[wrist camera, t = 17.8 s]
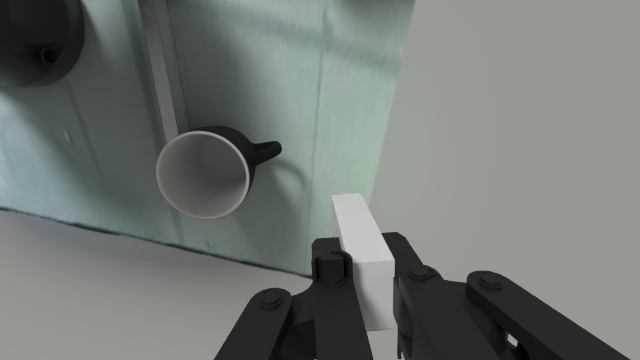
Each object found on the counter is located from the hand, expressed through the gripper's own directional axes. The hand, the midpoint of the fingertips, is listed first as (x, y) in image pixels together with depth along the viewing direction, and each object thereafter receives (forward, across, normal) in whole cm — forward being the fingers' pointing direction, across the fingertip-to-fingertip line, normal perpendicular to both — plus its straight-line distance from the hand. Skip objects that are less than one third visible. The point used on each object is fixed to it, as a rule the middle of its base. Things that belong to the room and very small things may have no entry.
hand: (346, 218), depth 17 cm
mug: (+25, -11, -1) cm, 27 cm away
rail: (+24, -17, +7) cm, 31 cm away
